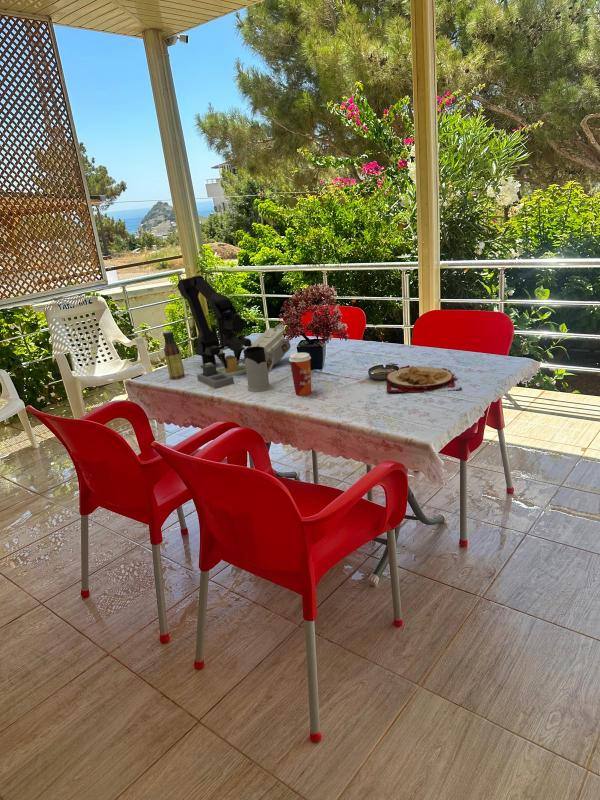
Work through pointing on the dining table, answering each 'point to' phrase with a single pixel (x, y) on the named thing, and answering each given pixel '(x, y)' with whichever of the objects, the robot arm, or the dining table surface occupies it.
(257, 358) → the grey pitcher
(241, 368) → the tray
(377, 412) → the dining table surface
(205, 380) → the power strip
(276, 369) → the dining table surface
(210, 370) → the twin plug
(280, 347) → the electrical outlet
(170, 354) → the sauce bottle
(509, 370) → the dining table surface
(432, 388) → the plate with food
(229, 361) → the plug
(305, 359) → the paper cup
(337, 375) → the dining table surface
